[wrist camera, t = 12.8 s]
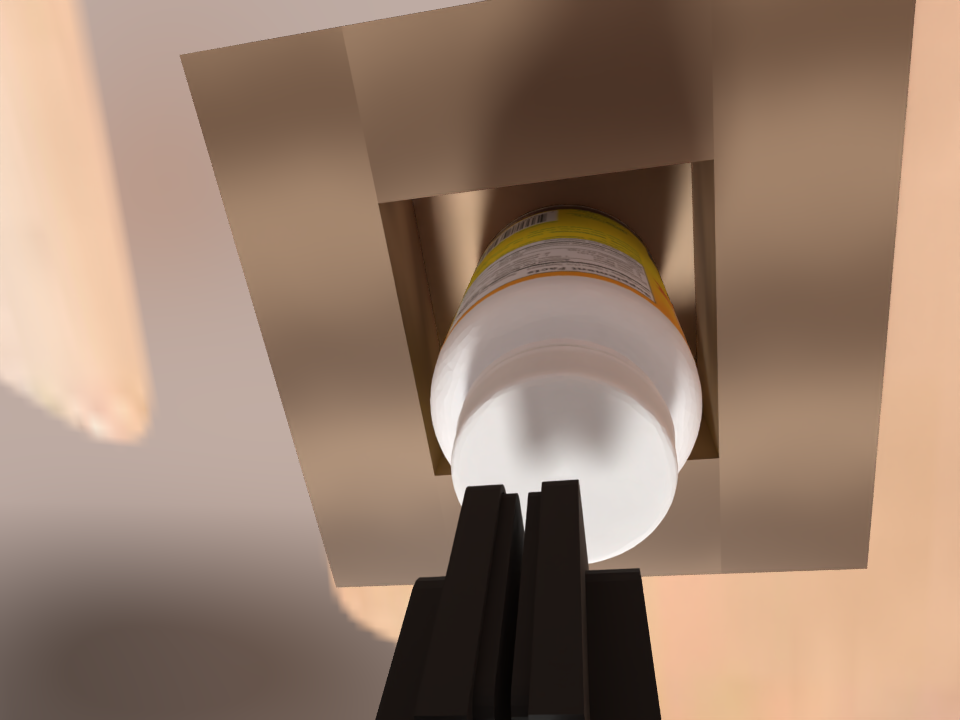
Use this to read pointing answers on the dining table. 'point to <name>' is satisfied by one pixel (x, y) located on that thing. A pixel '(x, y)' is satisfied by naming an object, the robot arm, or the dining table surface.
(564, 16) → the square bottle holder
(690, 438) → the supplement bottle
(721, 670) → the dining table surface
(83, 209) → the dining table surface
